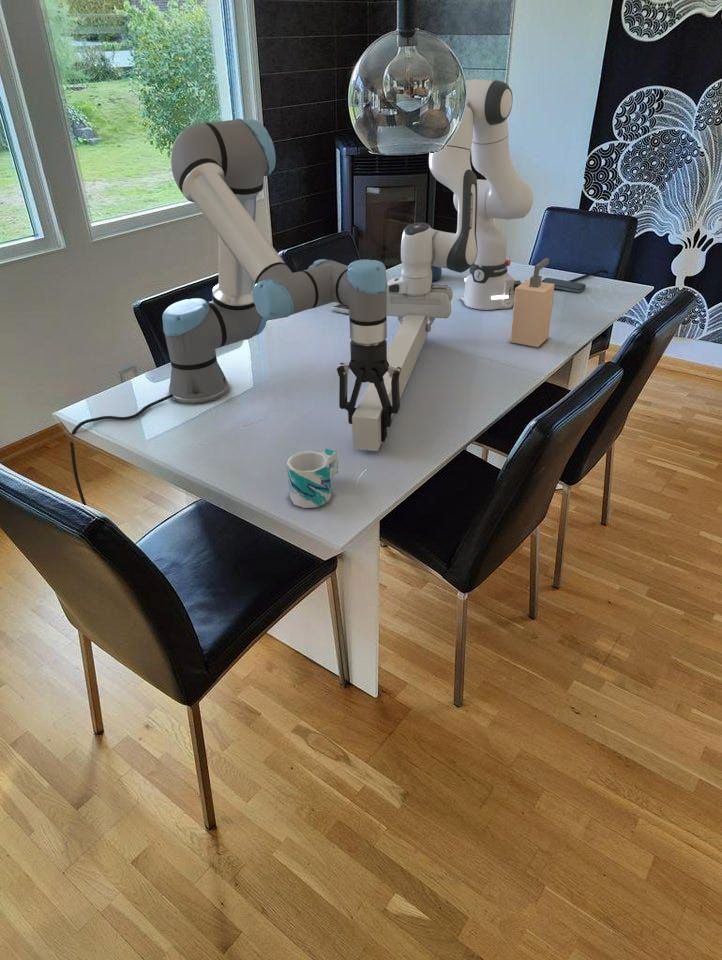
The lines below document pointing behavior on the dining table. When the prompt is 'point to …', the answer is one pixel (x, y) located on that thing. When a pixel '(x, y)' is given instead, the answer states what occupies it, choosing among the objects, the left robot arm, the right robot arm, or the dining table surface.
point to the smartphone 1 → (341, 308)
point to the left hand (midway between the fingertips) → (370, 437)
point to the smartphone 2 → (565, 284)
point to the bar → (388, 382)
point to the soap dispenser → (532, 309)
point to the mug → (311, 477)
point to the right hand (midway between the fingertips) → (416, 330)
